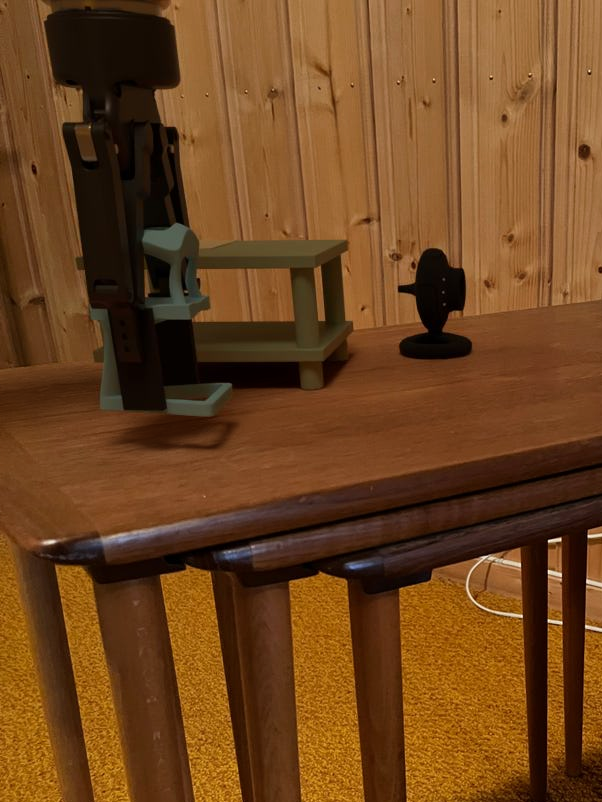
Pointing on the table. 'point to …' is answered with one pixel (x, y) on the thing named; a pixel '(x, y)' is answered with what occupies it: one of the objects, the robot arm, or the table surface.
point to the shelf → (276, 338)
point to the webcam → (436, 307)
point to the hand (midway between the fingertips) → (163, 396)
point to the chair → (172, 250)
